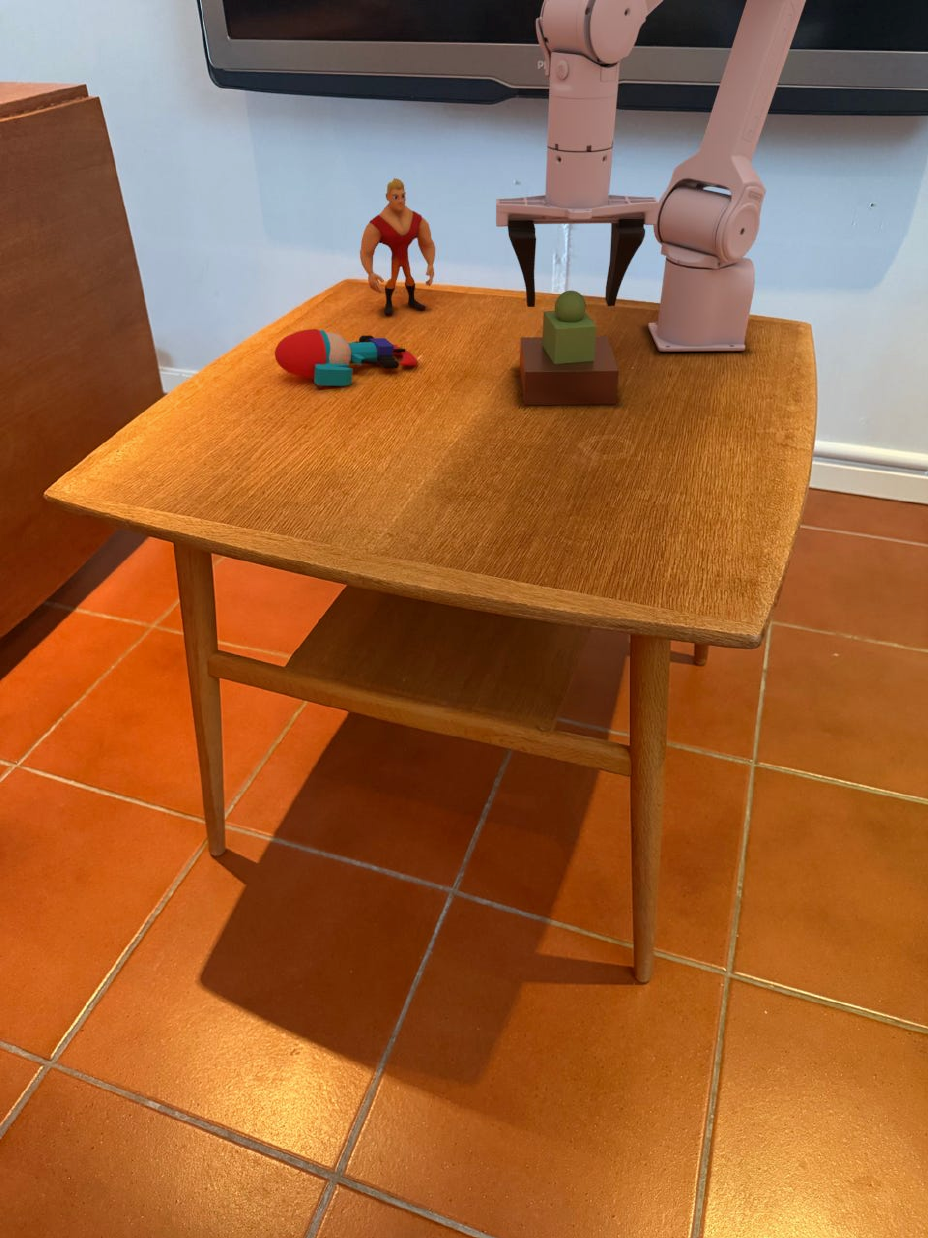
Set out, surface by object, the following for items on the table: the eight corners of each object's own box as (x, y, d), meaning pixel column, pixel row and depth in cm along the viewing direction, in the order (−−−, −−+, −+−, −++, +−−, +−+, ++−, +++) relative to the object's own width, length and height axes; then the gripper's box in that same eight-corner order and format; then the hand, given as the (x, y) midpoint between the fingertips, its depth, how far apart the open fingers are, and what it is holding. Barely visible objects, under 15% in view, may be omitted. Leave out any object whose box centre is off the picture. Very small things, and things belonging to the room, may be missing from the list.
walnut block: (604, 368, 94) (607, 336, 91) (615, 404, 87) (619, 370, 84) (519, 369, 94) (520, 337, 92) (524, 405, 87) (525, 371, 84)
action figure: (371, 320, 106) (361, 184, 97) (362, 311, 109) (350, 178, 99) (443, 308, 109) (440, 175, 100) (432, 300, 112) (428, 169, 102)
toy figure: (391, 359, 100) (263, 363, 93) (396, 316, 97) (265, 317, 90) (420, 388, 95) (287, 394, 88) (427, 344, 92) (290, 347, 85)
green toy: (580, 342, 90) (584, 281, 86) (593, 361, 86) (599, 298, 83) (541, 345, 90) (544, 284, 86) (554, 364, 86) (557, 301, 82)
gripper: (497, 156, 74) (496, 318, 82) (671, 154, 73) (652, 316, 82) (496, 140, 79) (494, 293, 88) (657, 138, 79) (640, 291, 87)
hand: (570, 303), depth 85 cm, fingers open, 7 cm apart
